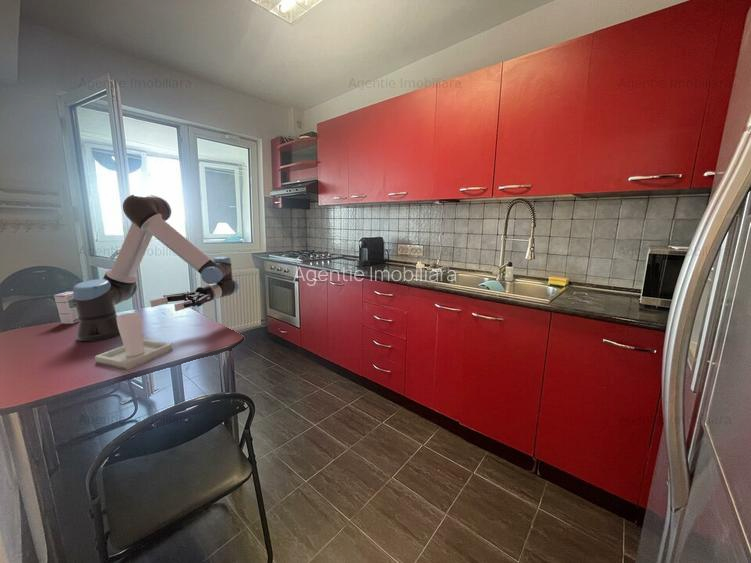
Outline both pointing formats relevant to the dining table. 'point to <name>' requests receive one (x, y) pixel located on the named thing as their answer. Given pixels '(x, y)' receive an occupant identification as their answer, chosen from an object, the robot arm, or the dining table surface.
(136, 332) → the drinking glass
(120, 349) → the tray
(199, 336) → the dining table surface
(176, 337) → the dining table surface
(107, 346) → the dining table surface
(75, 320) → the syrup box
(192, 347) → the dining table surface
